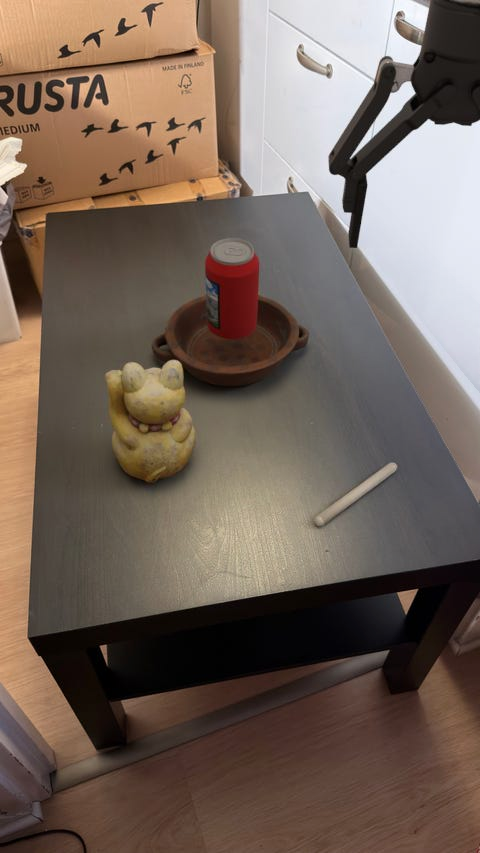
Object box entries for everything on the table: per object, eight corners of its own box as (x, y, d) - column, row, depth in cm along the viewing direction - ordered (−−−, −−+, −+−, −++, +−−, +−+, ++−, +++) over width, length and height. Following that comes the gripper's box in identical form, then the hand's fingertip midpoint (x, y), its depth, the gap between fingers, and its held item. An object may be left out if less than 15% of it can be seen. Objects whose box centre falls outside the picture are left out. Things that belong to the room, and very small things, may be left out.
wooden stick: (398, 471, 75) (400, 464, 74) (319, 530, 69) (320, 524, 68) (390, 465, 75) (392, 458, 74) (311, 522, 70) (312, 516, 69)
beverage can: (211, 310, 87) (209, 232, 78) (259, 314, 86) (263, 237, 77) (202, 341, 82) (199, 262, 74) (253, 346, 82) (256, 268, 73)
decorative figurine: (191, 433, 78) (185, 341, 67) (203, 484, 73) (199, 394, 62) (114, 445, 77) (95, 352, 66) (120, 498, 71) (100, 408, 60)
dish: (322, 390, 84) (327, 362, 80) (158, 408, 81) (155, 380, 77) (293, 310, 95) (296, 283, 92) (149, 324, 92) (145, 296, 89)
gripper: (634, -14, 49) (537, 231, 65) (317, -24, 50) (296, 219, 66) (671, 12, 44) (556, 271, 60) (318, 0, 45) (295, 258, 61)
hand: (420, 244), depth 63 cm, fingers open, 13 cm apart
